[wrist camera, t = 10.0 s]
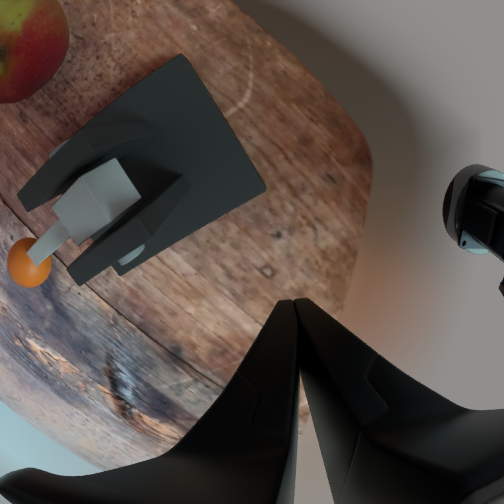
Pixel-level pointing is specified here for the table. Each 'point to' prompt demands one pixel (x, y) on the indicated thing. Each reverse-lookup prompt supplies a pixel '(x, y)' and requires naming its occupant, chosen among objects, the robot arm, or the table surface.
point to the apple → (30, 46)
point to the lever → (74, 220)
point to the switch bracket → (153, 168)
